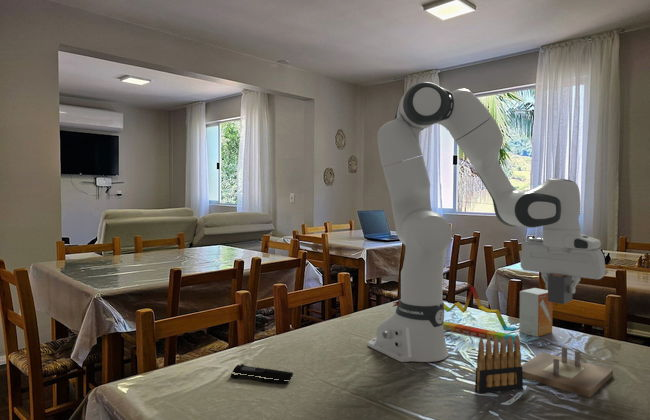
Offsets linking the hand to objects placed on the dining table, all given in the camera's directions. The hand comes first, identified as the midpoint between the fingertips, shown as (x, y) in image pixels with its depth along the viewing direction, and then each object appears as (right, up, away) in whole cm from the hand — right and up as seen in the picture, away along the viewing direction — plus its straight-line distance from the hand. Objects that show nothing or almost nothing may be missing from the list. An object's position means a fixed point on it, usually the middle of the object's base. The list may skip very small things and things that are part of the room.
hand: (560, 291), depth 118 cm
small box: (+2, -17, +19) cm, 25 cm away
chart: (-19, -17, +20) cm, 33 cm away
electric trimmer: (-78, -19, -13) cm, 81 cm away
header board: (-6, -18, -13) cm, 23 cm away
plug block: (0, -3, 0) cm, 3 cm away
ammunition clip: (-24, -18, -20) cm, 36 cm away
